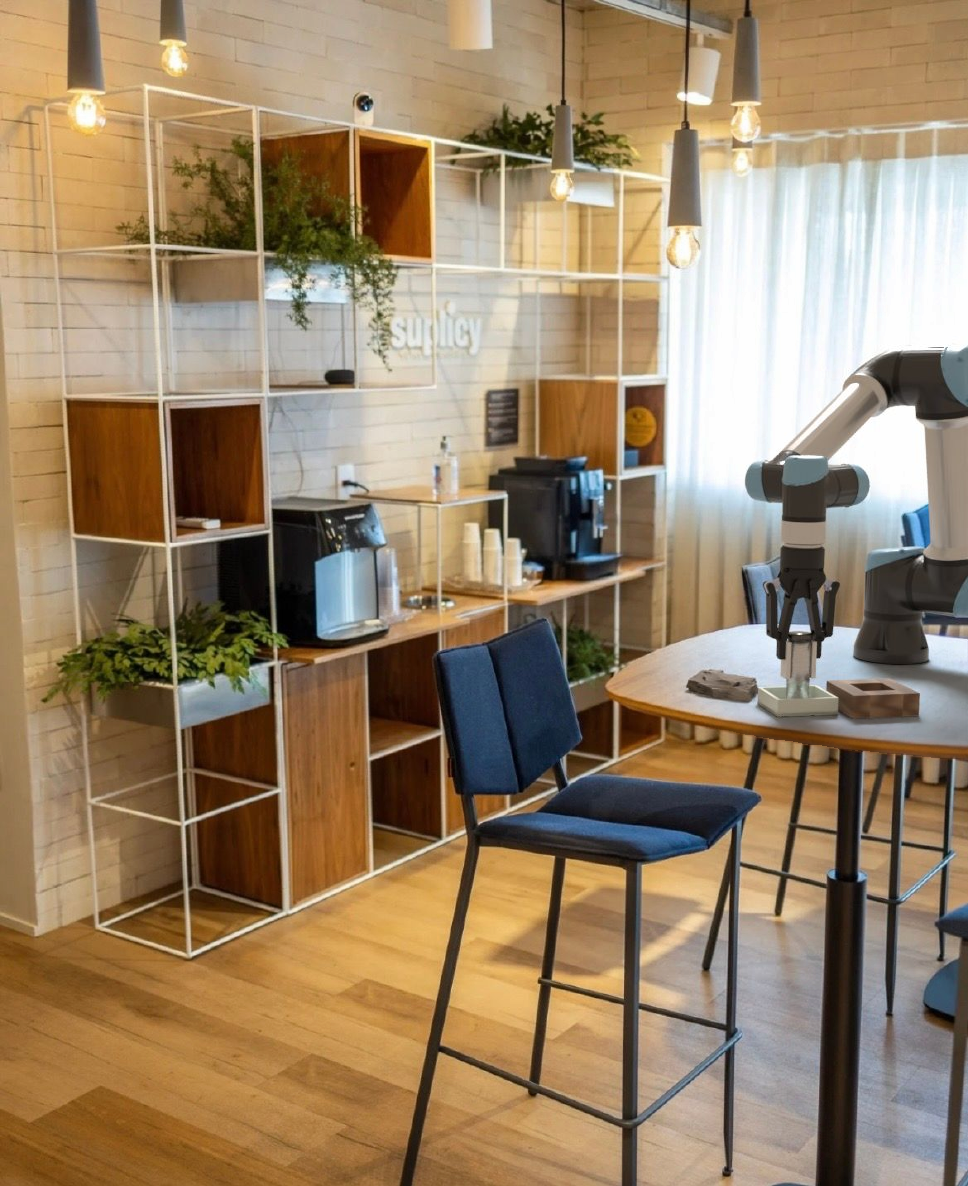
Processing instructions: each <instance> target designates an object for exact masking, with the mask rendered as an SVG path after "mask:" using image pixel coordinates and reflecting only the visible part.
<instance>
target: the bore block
mask: <svg viewBox="0 0 968 1186" xmlns="http://www.w3.org/2000/svg"><path fill="white" fill-rule="evenodd" d="M825 689H826V691H828V692H829V693H831V694H833V695H835V696H836V697H838V711H840V712H841V711H842V714H845V715H847V716H848V717H850V716H851V717H852V718H851V717H850V718H851V719H871V718H872V719H873V718H874V719H875V718H900V717H919V716H920V702H921V701H920V700H921V693H920V692H918V691H916V690H914V689H912V688H910V687H908V686H906V685H904V684H902V683H901V682H898V681H896V680H894V679H892V678H866V679H864V678H863V679H862V678H861V679H839V680H834V679H833V680H826V686H825Z"/></svg>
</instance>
